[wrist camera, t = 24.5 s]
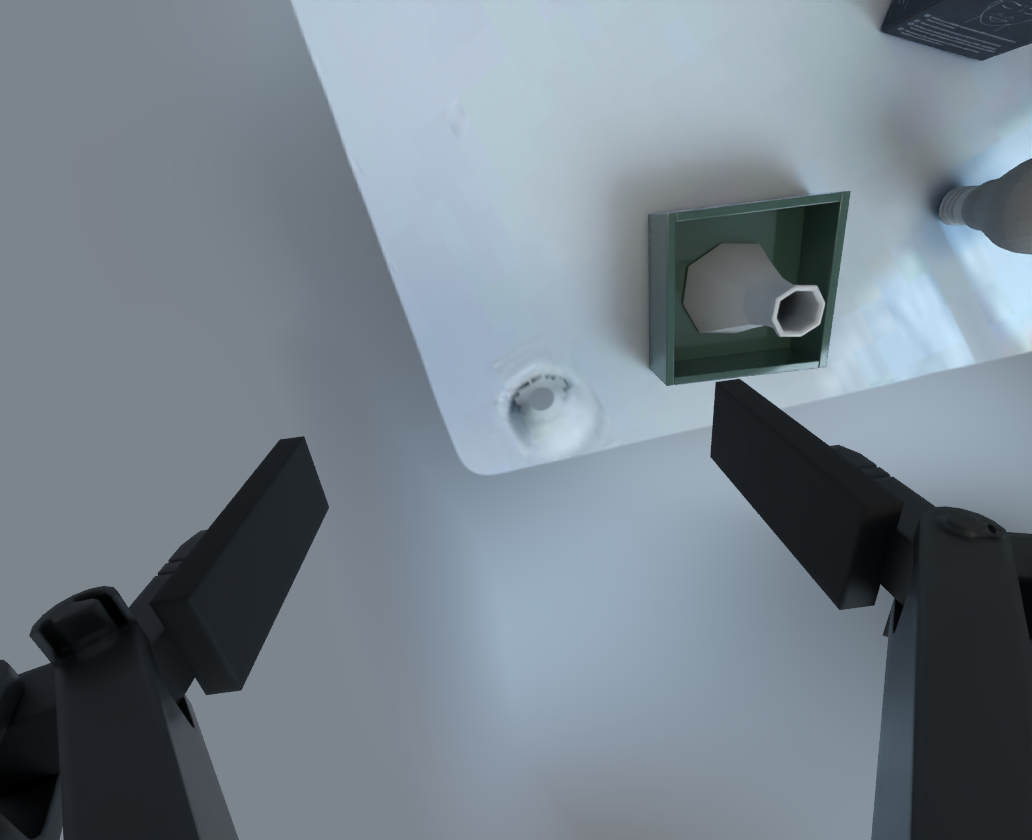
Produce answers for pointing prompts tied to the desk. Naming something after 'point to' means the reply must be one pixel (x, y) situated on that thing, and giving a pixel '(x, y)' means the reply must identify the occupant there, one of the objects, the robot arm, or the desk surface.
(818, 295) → the flask
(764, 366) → the caddy
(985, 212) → the light bulb
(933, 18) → the box
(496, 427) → the desk surface
